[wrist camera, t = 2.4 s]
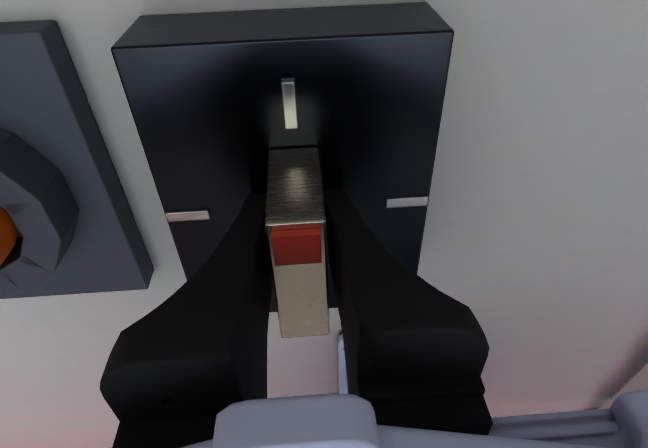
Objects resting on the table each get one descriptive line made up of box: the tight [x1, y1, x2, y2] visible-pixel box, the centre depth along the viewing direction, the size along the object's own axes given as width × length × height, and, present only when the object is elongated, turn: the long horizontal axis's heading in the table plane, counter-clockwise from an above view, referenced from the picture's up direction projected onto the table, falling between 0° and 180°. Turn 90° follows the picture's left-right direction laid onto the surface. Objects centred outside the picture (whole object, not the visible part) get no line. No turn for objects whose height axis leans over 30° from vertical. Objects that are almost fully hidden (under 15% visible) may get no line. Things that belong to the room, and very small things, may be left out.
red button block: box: [265, 147, 330, 338], centre depth 14 cm, size 5×2×4 cm, turn 2°
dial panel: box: [111, 2, 454, 312], centre depth 16 cm, size 11×9×3 cm
